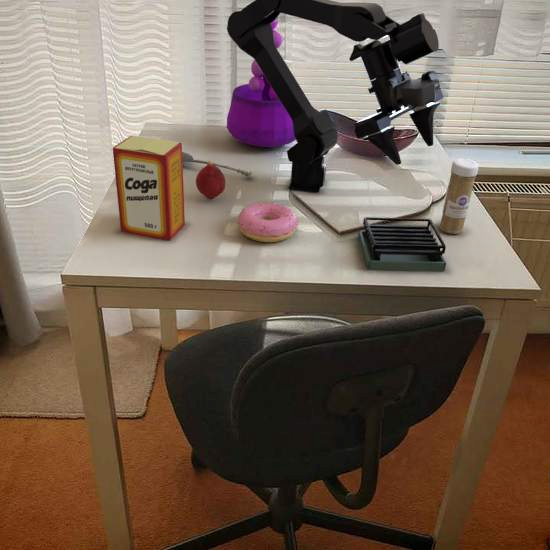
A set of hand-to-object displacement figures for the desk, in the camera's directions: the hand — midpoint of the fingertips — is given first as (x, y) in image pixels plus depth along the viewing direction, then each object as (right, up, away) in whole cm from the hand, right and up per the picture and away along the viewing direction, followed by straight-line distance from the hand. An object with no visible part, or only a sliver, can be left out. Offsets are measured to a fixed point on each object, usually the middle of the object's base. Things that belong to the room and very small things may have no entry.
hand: (415, 154), depth 114 cm
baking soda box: (-48, -14, -3) cm, 50 cm away
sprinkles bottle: (+7, -14, +1) cm, 16 cm away
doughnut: (-28, -15, -3) cm, 31 cm away
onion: (-39, -8, +8) cm, 41 cm away
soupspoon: (-42, +1, +21) cm, 47 cm away
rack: (-5, -19, -8) cm, 21 cm away
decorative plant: (-29, +10, +37) cm, 48 cm away
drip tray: (-5, -19, -8) cm, 21 cm away
